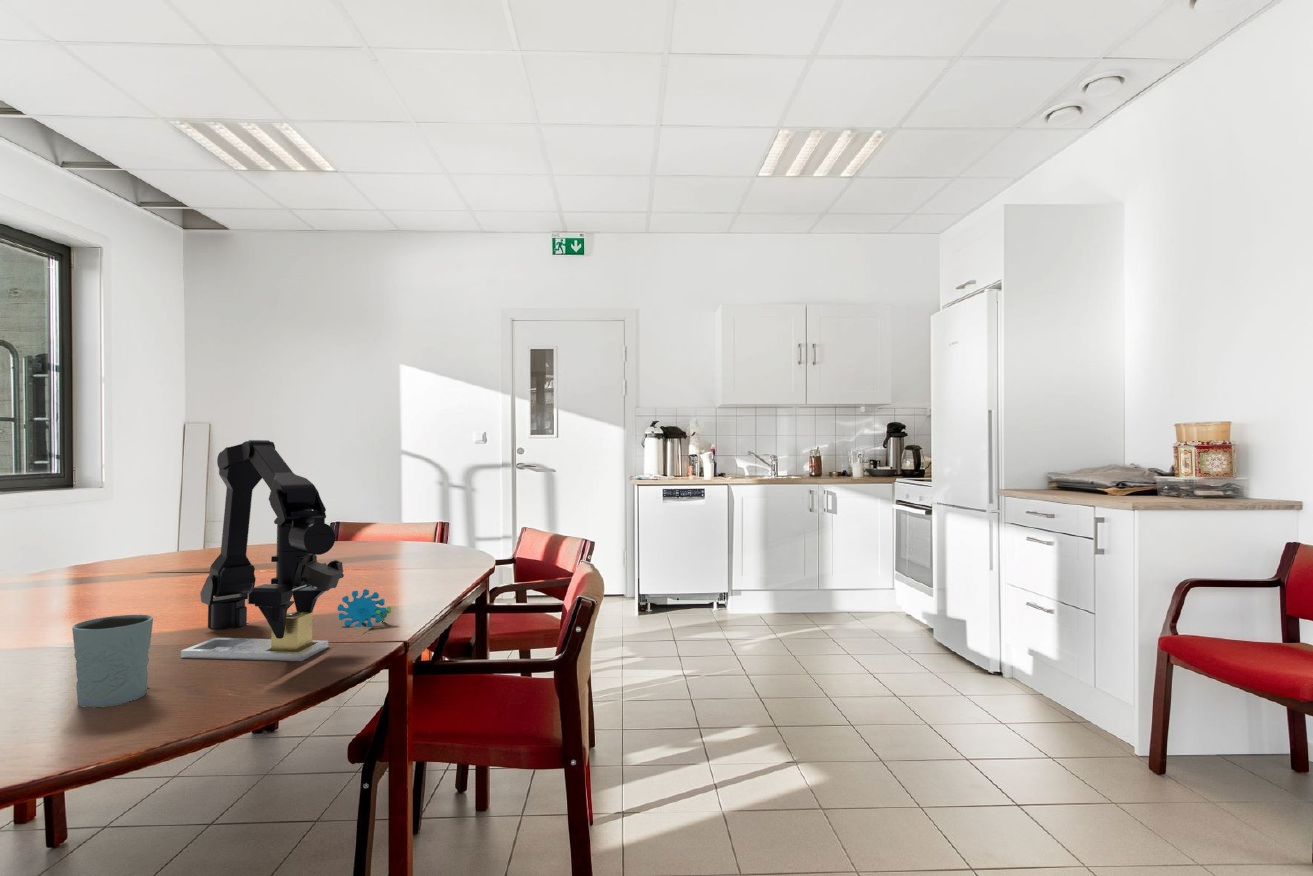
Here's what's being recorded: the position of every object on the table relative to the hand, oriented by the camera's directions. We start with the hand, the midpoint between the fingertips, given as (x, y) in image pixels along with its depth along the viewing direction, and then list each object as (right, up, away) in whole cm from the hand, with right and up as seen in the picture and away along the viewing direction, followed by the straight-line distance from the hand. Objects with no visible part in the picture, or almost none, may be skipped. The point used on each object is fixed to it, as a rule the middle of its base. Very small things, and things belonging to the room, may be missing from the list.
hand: (292, 632), depth 133 cm
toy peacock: (+4, -5, +24) cm, 24 cm away
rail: (-7, -5, 0) cm, 8 cm away
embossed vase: (-17, -4, -22) cm, 28 cm away
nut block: (0, -4, 0) cm, 4 cm away
